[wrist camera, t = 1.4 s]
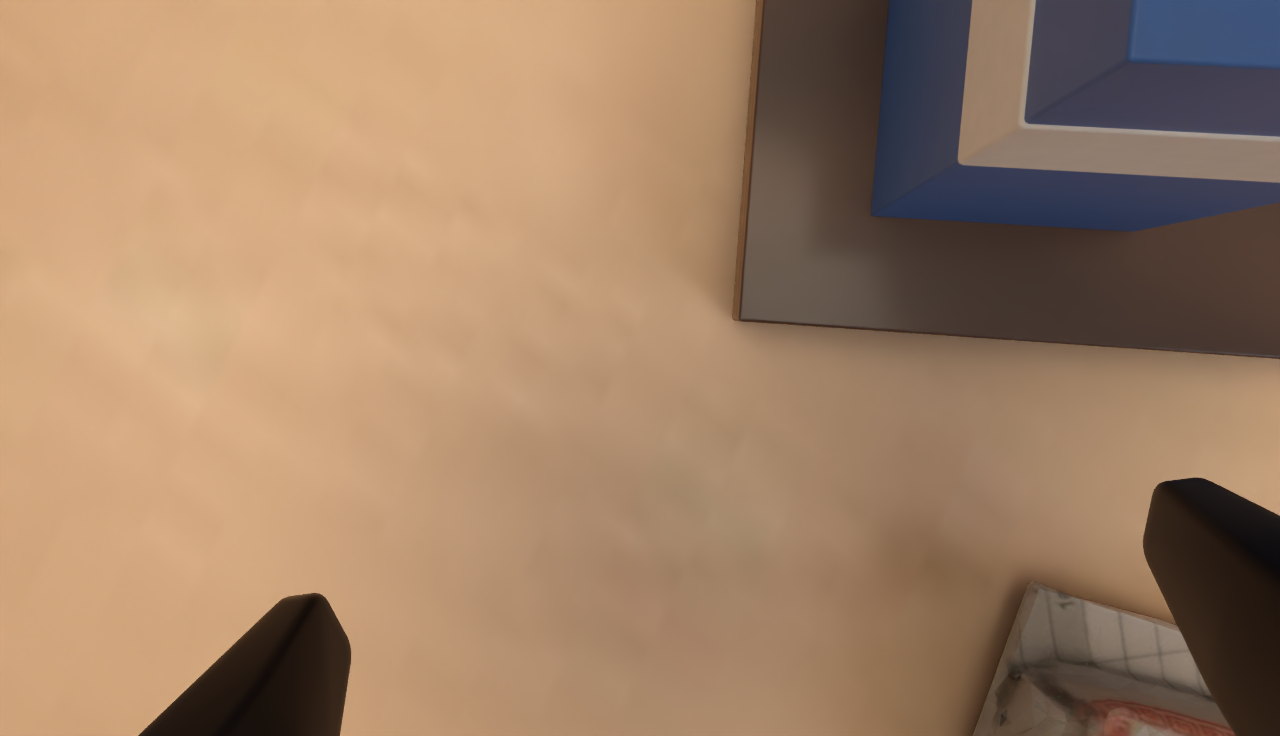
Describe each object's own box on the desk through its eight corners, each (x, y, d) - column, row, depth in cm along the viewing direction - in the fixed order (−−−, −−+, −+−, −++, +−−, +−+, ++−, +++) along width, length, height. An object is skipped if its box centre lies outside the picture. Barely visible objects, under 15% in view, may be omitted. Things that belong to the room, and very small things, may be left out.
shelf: (1311, 360, 21) (1520, 375, 16) (731, 320, 22) (740, 321, 17) (1364, -77, 21) (1604, -219, 15) (763, -97, 22) (784, -237, 16)
